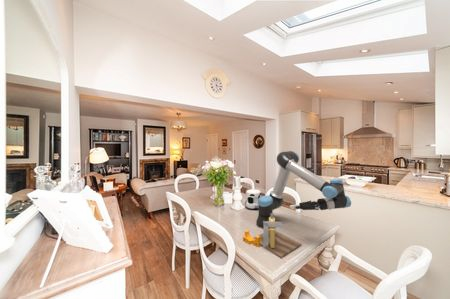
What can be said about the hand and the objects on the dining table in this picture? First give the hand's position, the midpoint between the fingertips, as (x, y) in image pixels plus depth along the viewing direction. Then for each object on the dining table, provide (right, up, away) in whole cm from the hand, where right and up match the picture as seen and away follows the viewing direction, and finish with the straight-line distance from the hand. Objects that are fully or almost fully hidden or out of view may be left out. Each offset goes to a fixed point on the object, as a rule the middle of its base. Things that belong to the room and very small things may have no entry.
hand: (290, 207), depth 122 cm
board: (-10, -24, 0) cm, 26 cm away
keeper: (-14, -25, -6) cm, 29 cm away
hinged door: (-12, -23, +1) cm, 26 cm away
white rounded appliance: (-15, -22, +66) cm, 71 cm away
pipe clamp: (-27, -25, 0) cm, 37 cm away
